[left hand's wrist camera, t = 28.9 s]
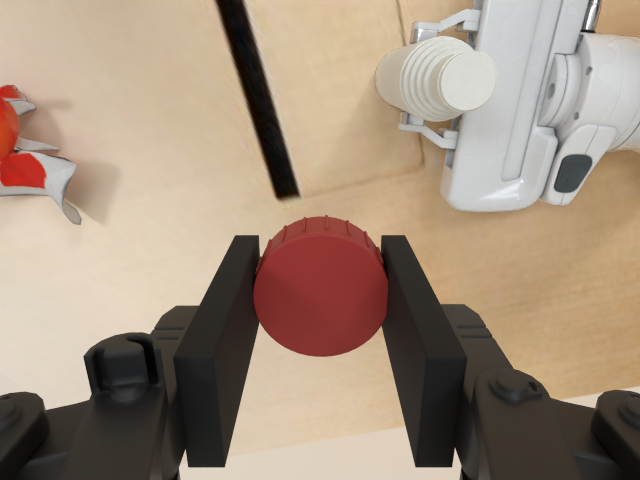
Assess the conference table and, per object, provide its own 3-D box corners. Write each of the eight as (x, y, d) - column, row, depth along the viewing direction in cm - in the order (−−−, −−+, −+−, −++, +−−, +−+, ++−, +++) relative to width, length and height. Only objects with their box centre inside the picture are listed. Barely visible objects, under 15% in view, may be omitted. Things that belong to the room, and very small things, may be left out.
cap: (376, 204, 14) (383, 221, 12) (391, 319, 15) (400, 348, 14) (245, 226, 14) (236, 246, 12) (273, 336, 16) (268, 367, 14)
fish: (50, 41, 36) (-48, 106, 30) (139, 188, 47) (81, 258, 41) (-41, 47, 39) (-147, 107, 33) (61, 182, 51) (-3, 247, 44)
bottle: (413, 115, 43) (484, 149, 24) (365, 92, 42) (400, 107, 23) (440, 63, 41) (540, 55, 22) (391, 37, 40) (451, 7, 22)
